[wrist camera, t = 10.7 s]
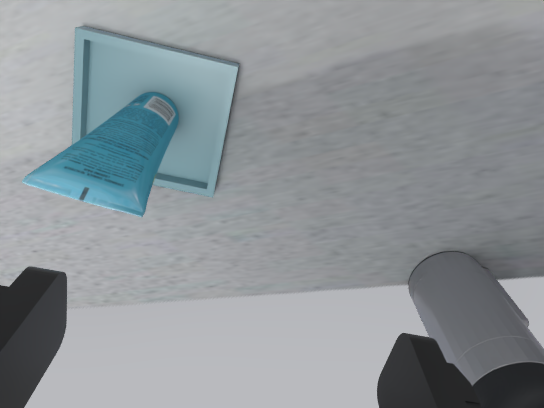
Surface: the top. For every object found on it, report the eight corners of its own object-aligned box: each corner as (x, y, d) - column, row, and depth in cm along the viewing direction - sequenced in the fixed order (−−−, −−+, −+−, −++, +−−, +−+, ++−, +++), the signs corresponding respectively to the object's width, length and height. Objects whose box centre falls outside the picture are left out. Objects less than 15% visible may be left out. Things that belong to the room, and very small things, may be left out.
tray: (239, 63, 42) (238, 67, 40) (214, 189, 48) (212, 197, 46) (83, 26, 40) (75, 27, 38) (79, 161, 46) (71, 168, 45)
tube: (117, 129, 44) (21, 217, 27) (121, 83, 42) (20, 147, 25) (188, 145, 45) (138, 241, 28) (196, 101, 43) (147, 175, 26)
